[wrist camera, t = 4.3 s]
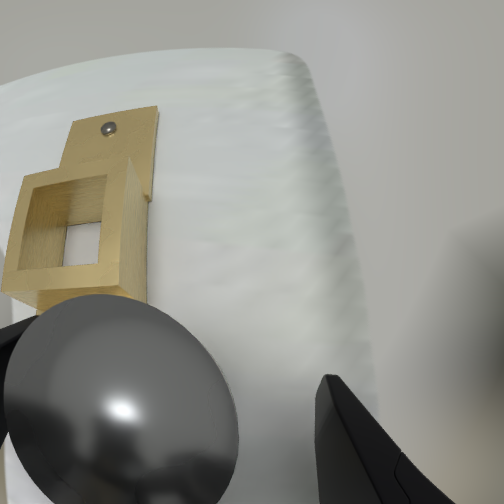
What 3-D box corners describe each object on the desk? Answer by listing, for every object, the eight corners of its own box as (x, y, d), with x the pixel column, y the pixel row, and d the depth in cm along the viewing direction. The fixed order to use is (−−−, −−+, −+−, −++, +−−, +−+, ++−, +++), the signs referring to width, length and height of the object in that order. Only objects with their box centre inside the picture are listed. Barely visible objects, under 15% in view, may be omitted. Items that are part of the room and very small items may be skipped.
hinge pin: (209, 445, 13) (159, 572, 3) (138, 401, 14) (-21, 425, 3) (250, 378, 15) (292, 387, 4) (179, 335, 15) (75, 248, 5)
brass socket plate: (164, 456, 13) (140, 482, 9) (50, 445, 12) (5, 457, 8) (158, 113, 21) (148, 66, 17) (76, 128, 21) (57, 87, 16)
